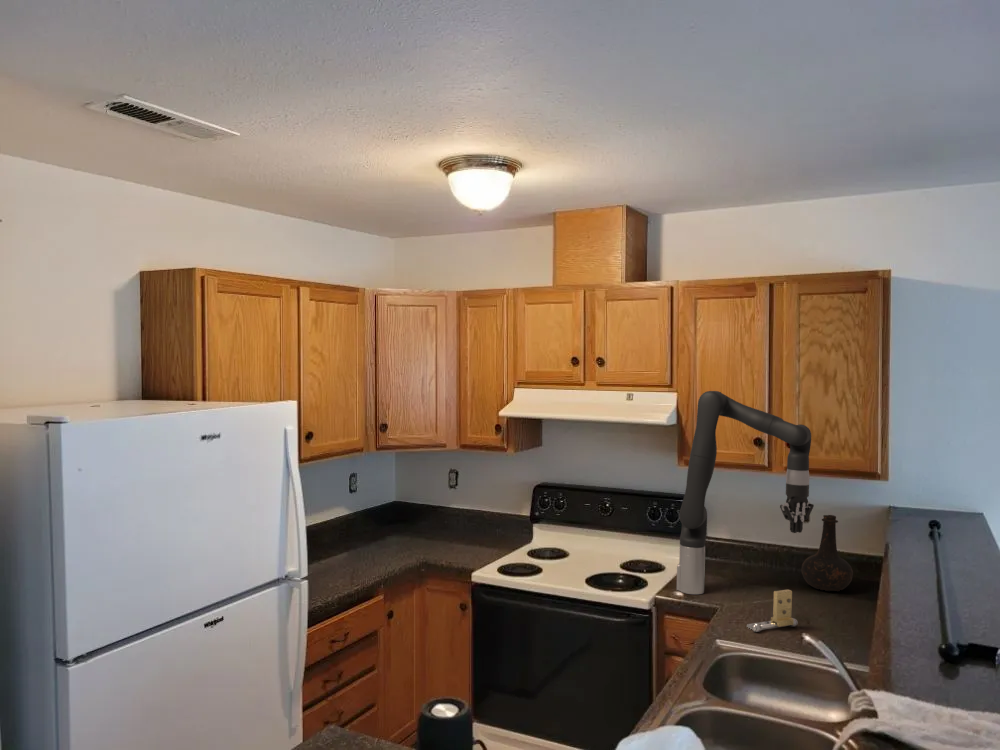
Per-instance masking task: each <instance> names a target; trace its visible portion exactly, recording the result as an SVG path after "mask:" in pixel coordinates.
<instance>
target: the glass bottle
mask: <svg viewBox="0 0 1000 750" xmlns="http://www.w3.org/2000/svg"><path fill="white" fill-rule="evenodd" d="M821 521H822V531H821V539H820V543H819V544H820V545H819V547H818V550H817V552H816V553H815V554H812V555H809V556H808V557H807V558H805V559H804V561H803V562H802V564H801V575H802V577H803V579H804V581H805V582H806V583H807V584H808V585H810V587H812V588H814V589H816V590H819V589H820V591H823V590H825V591H824V592H830V591H837V592H841V591H843V590H844V589H846V588H847V587H848V586H849V585H850V584H851V582H852V580H853V576H854V571H853V568H852V566H851V565H850V563H849V562H848V561H847V560H845V559H843V558H842V557H840V556H839V553H838V549H837V533H836V532H837V529H836V526H837V525H836V524H838V523H839V521H838V520H837V516H836V515H833V514H824V515H823V518H821ZM840 590H841V591H840Z"/></svg>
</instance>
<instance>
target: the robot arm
mask: <svg viewBox="0 0 1000 750" xmlns="http://www.w3.org/2000/svg"><path fill="white" fill-rule="evenodd" d="M696 411H697V413H696V425H695V430H694V435H693V439H692V445H691V450H690V455H689V460H688V467H687V475H686V485H685V492H684V496H683V499H682V503H681V507H680V509H679V514H678V517H679V518H678V519H679V521H680V523H681V532H680V536H679V563H678V564H677V566H676V591H679V592H681V593H682V594H687V595H702V594H704V593H705V579H706V578H705V574H706V573H705V572H706V570H705V569H706V568H705V567H706V565H705V564H706V542H707V531H708V528H707V527H708V511H707V509H706V506H705V503H706V502H705V501H706V495H707V492H708V488H709V486H710V483H711V480H712V478H713V475H714V470H715V467H716V461H717V454H718V453H717V452H718V450H717V449H718V448H717V447H718V446H717V437H716V436H717V435H716V432H717V426H718V422H719V418H720V417H725V418H730V419H733V420H735V421H737V422H740V423H742V424H744V425H746V426H748V427H750V428H752V429H753V430H756V431H759V432H761V433H764V434H767V435H768V436H772V437H775V438H777V439H778V440H781V441H783V442H785V443H787V444H790V445H789V447H790V448H789V452H788V455H787V460H786V461H787V462H786V474H785V495H786V499H785V503H784V504H780V505H779V509H780V510H781V512H782V515H783V517H784V519H785V520H786V521H789V531H790V533H792V534H797V533H798V534H799V533H802V532H803V525H804V521H808V520H809V518H810V515H811V514H812V510H813V509H814V504H813V503H810V502H809V500H808V497H810V472H809V470H810V451H811V446H812V432H811V430H810V428H809V427H808V426H807V425H804V424H794V423H791V422H788V421H786V420H784V419H783V418H782V417H779V416H776V415H775V414H771V413H769V412H766V411H763V410H760V409H757V408H754V407H751V406H749V405H746V404H743V403H741V402H738V401H736V400H734V399H732V398H731V397H729V396H728V395H726V394H724V393H722V392H721V391H718V390H708V391H704V392H703V393H702V394H701V395H700V396H699V399H698V402H697V410H696Z"/></svg>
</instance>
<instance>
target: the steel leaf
mask: <svg viewBox="0 0 1000 750" xmlns="http://www.w3.org/2000/svg"><path fill="white" fill-rule="evenodd" d="M791 618H792V619H794V622H793V625H787V626H780V627H778V626H777V623H771V620H768V621H767V620H765V621H761V622H754V623H753V622H752V623H747V624H746V628H747V627H748V628H747V629H749V628H750V629H749V630H751V629H752V630H751V631H753V632H754V633H758V632H762V631H764V630H771V629H776V628H784V627H790V628H792V627H797V625H798V624H799V623H798V620H797V619H796V618H795V617H791Z"/></svg>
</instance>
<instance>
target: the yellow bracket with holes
mask: <svg viewBox="0 0 1000 750" xmlns="http://www.w3.org/2000/svg"><path fill="white" fill-rule="evenodd" d="M792 599H793V591H792V590H791V589H782V590H774V591H773V609H772V616H771V617H770V621H771V623H777V626H778V628H781V627H780V626H785V627H788V626H787V625H793V622H794V619H792V618H793V617H792V606H793V605H792V604H793V603H792V601H793V600H792Z"/></svg>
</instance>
